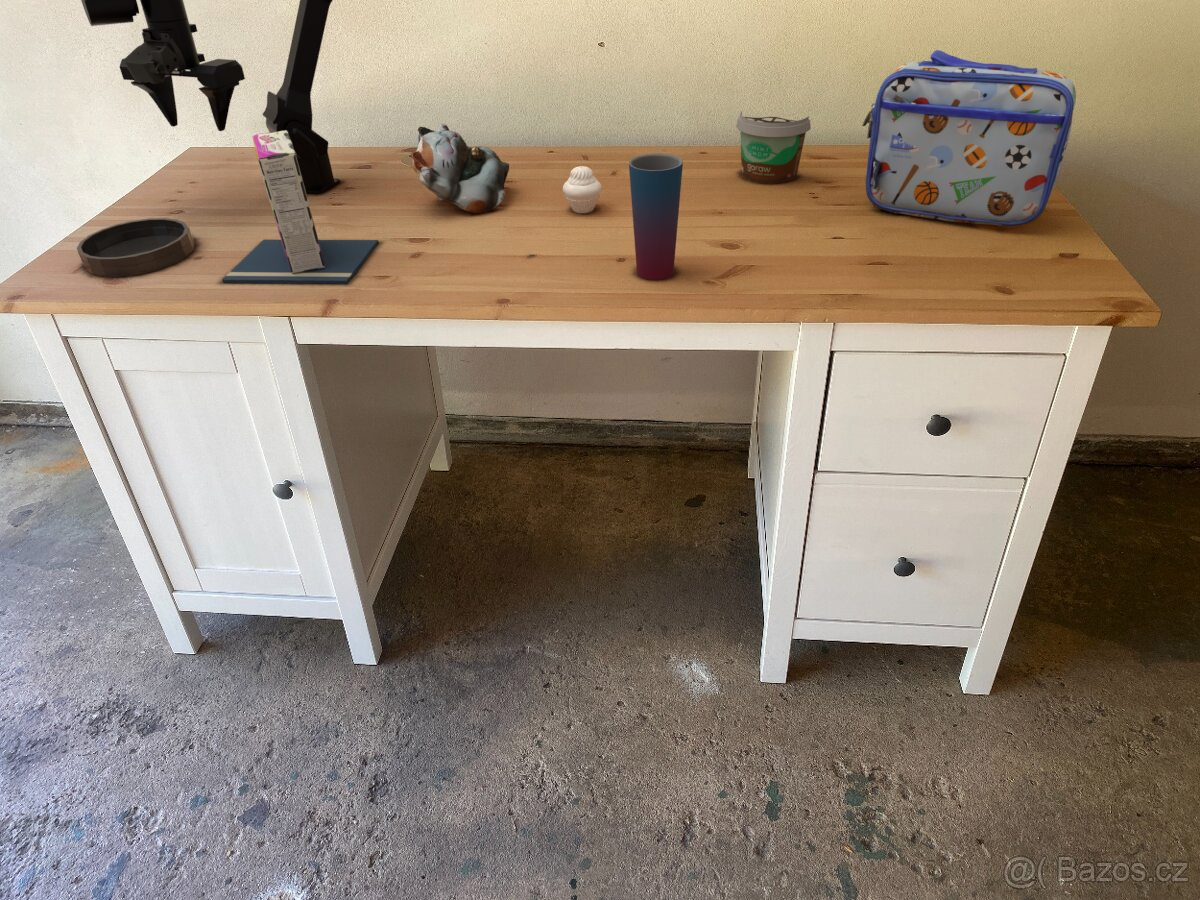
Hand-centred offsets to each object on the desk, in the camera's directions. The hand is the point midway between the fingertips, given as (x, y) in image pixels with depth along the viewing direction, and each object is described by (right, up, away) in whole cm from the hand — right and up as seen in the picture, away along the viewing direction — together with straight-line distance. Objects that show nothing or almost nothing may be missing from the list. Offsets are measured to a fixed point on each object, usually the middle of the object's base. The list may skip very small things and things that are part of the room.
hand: (197, 128), depth 132 cm
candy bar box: (+21, -23, -12) cm, 34 cm away
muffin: (+61, -13, +1) cm, 63 cm away
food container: (+92, -5, +9) cm, 93 cm away
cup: (+72, -27, -19) cm, 79 cm away
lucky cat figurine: (+42, -10, +5) cm, 44 cm away
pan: (-5, -22, -7) cm, 24 cm away
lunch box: (+116, -15, -6) cm, 118 cm away
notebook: (+21, -24, -12) cm, 34 cm away
